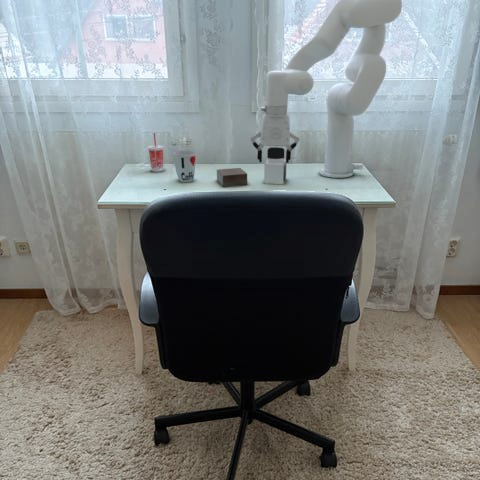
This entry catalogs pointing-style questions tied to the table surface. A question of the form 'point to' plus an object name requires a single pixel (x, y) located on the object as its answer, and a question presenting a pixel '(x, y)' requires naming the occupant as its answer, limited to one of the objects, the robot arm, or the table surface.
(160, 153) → the beverage cup
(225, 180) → the walnut block
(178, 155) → the cup
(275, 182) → the medicine bottle
